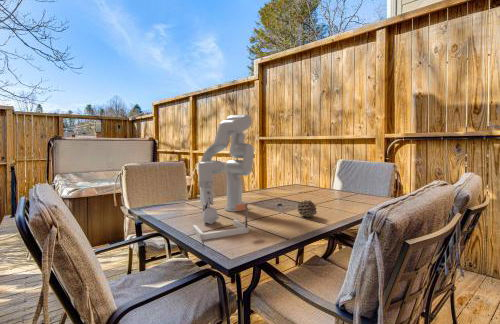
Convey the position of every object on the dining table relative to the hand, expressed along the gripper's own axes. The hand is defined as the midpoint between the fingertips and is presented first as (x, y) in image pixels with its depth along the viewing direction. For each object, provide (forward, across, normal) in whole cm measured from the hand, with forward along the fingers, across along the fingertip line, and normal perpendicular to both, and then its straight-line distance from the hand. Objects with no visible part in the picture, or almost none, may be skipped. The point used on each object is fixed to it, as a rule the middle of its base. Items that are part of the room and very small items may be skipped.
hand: (206, 216), depth 155 cm
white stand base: (+2, -22, 0) cm, 22 cm away
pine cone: (+2, -16, -53) cm, 56 cm away
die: (+2, -7, 0) cm, 7 cm away
